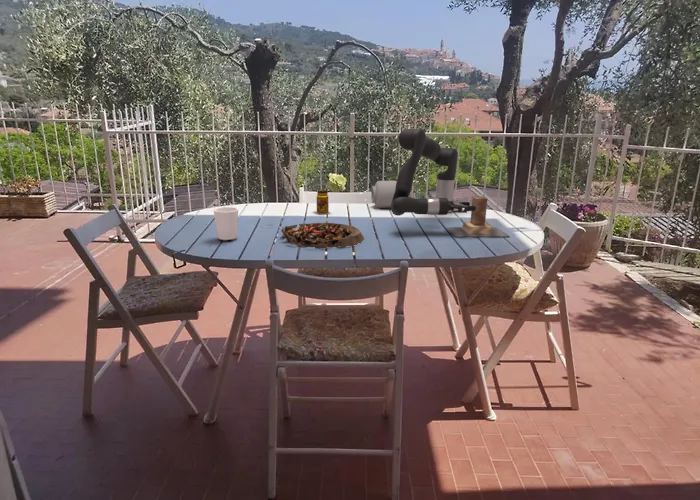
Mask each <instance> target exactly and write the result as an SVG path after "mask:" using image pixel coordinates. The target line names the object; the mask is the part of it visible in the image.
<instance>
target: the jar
mask: <svg viewBox="0 0 700 500" xmlns="http://www.w3.org/2000/svg"><path fill="white" fill-rule="evenodd" d="M396 182H397V180H377V182H375V185H371V193H370V194H371V203H373V204H375V207H376V208H378V209H391V203H392V199H393V196H394V193H395V188H396ZM369 190H370V189H368V190H367V189H366V191H367V192H368V191H369ZM366 191H364V192H365V193H366ZM360 194H363V193H362V192H360ZM365 201H367V199H365Z"/></svg>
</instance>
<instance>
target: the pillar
mask: <svg viewBox="0 0 700 500" xmlns="http://www.w3.org/2000/svg"><path fill="white" fill-rule="evenodd" d="M471 206H476V211H470V212H471V213H470V223H471V224H472V225H474V226H485V222H486V218H487V217H486V216H487V210H488V208H487V207H488V197H485V196H472V201H471Z"/></svg>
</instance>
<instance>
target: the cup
mask: <svg viewBox="0 0 700 500" xmlns="http://www.w3.org/2000/svg"><path fill="white" fill-rule="evenodd" d="M213 217H214V220H215V226H216V233H217V239H218V241H223V242H228V241H232V242H234V241H235V240H237V238H238V225H239V224H238V222H239V208H237V207H233V206H221V207H217V208H214V209H213Z"/></svg>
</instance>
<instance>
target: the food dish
mask: <svg viewBox="0 0 700 500" xmlns="http://www.w3.org/2000/svg"><path fill="white" fill-rule="evenodd" d="M298 226H299V227H298ZM297 227H298V228H297ZM280 231H281V232H282V235H283V238H284V239H285V241H284V242H287V243H289V244H290V245H292V246H297V247H298V248H299V247H301V248H313V247H315V248H314V249H317V248H327V247H336V248H339V247H338V246H342V247H341V248H345V247H346V246H353V247H355V246H354V245H357V244H358V243H360V244H362V243H363V242H364V241H365V237H364V236H363V234H362V231H360V229H359V228H357V227H355V226H354V225H351V224H350V225H348V224H345V223H344V224H343V223H336V222H335V223H334V222H313V223H304V224H303V223H299V225H298V224H292V225H289V226H287V225H286V226H282V229H280ZM363 240H364V241H363ZM362 241H363V242H362ZM361 242H362V243H361ZM358 245H359V244H358ZM358 245H357V246H358ZM327 249H328V248H327Z"/></svg>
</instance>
